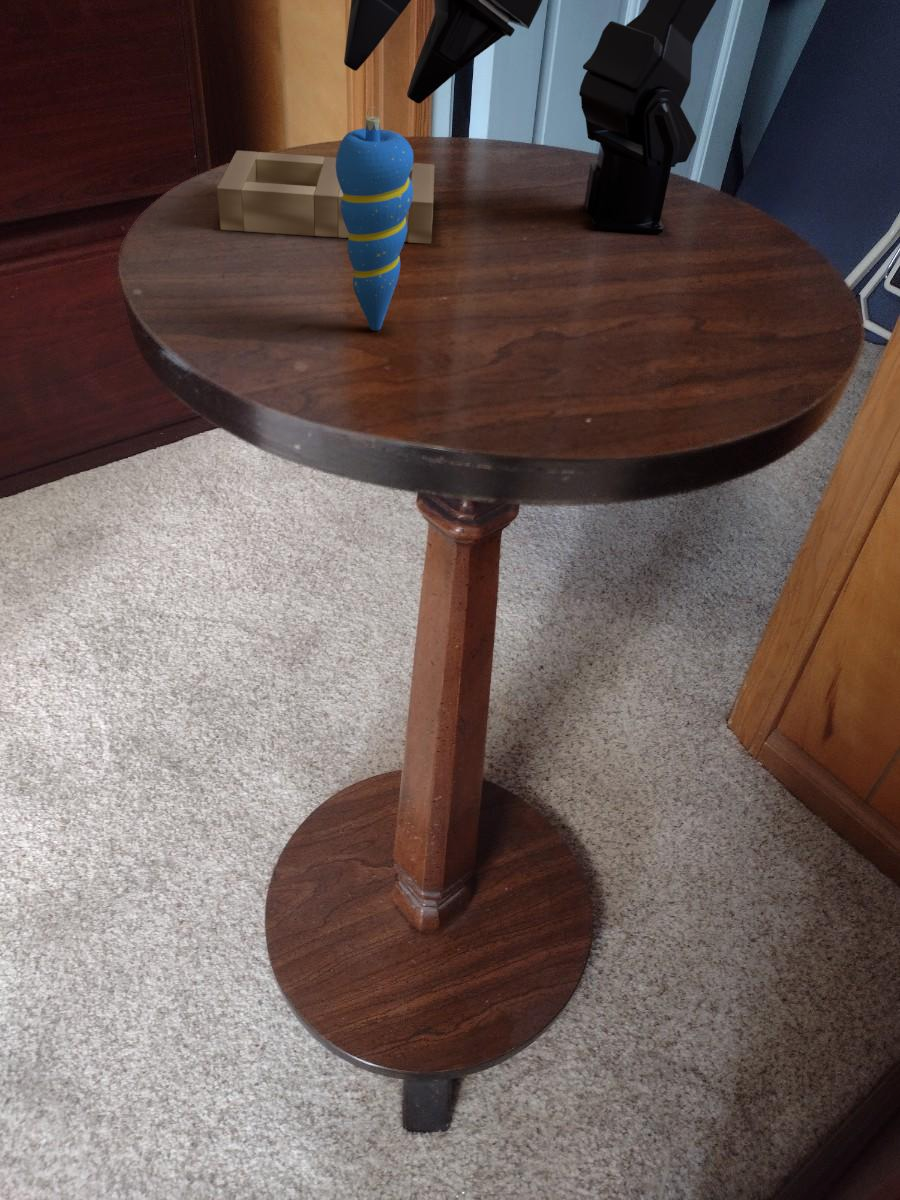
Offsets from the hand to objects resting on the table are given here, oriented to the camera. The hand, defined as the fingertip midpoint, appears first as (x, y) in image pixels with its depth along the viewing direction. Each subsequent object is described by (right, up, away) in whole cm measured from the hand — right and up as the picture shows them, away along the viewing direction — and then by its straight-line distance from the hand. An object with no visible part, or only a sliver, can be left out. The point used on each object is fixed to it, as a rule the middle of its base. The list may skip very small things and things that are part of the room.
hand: (380, 83), depth 70 cm
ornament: (-1, -18, 0) cm, 18 cm away
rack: (-6, -3, +16) cm, 18 cm away
